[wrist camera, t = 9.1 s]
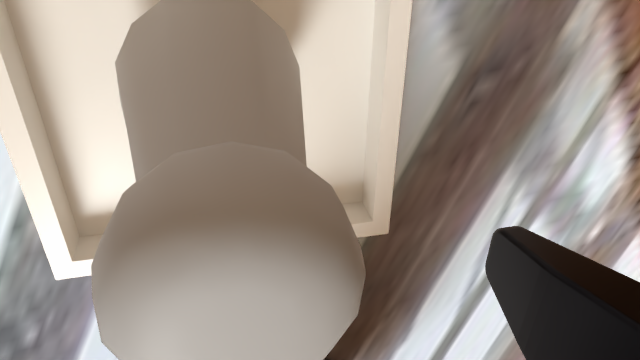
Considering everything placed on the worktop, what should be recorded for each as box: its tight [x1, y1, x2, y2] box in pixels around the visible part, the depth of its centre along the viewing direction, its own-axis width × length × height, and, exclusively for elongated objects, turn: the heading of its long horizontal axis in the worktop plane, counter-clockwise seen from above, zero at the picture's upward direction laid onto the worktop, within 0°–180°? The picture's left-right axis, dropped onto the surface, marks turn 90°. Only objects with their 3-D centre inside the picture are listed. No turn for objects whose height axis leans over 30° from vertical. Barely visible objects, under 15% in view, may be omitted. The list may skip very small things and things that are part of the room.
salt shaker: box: [91, 0, 366, 360], centre depth 12 cm, size 6×6×13 cm
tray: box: [0, 0, 413, 280], centre depth 17 cm, size 16×14×2 cm
